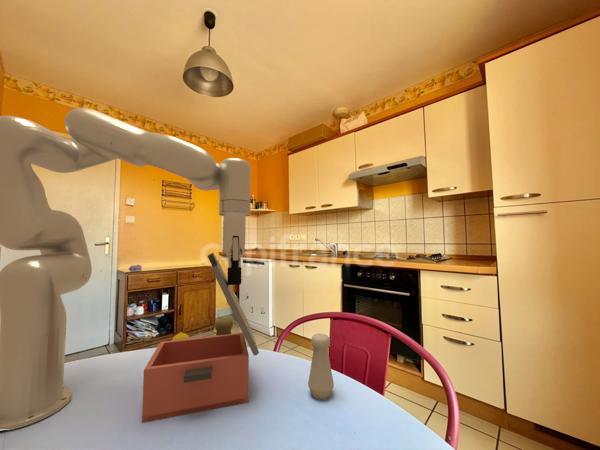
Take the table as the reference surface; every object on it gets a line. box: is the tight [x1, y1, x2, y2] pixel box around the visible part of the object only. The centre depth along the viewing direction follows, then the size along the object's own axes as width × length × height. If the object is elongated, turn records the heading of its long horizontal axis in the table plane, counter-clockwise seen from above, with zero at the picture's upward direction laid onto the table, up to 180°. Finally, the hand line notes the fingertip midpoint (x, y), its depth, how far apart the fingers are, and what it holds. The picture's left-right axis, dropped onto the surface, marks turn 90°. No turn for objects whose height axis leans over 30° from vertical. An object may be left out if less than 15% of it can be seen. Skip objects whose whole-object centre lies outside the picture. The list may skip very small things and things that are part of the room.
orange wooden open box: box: [141, 332, 250, 424], centre depth 58 cm, size 20×19×10 cm
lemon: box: [171, 331, 191, 341], centre depth 73 cm, size 6×6×8 cm
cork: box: [214, 317, 234, 336], centre depth 75 cm, size 6×6×11 cm
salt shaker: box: [307, 332, 335, 400], centre depth 57 cm, size 6×6×13 cm
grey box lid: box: [207, 252, 260, 357], centre depth 60 cm, size 24×16×1 cm
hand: (234, 284), depth 61 cm, fingers closed
